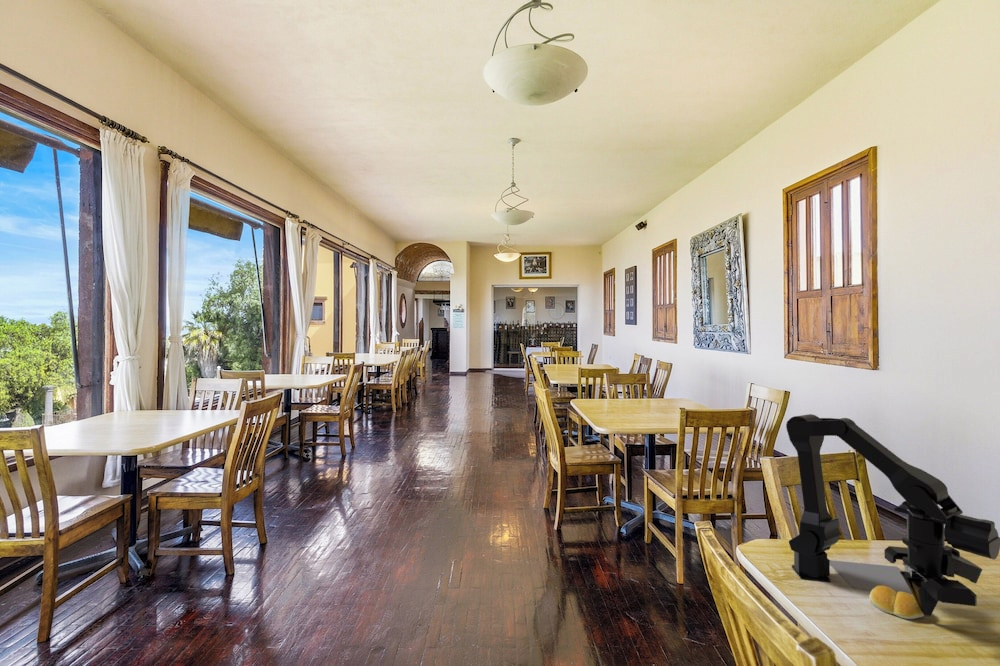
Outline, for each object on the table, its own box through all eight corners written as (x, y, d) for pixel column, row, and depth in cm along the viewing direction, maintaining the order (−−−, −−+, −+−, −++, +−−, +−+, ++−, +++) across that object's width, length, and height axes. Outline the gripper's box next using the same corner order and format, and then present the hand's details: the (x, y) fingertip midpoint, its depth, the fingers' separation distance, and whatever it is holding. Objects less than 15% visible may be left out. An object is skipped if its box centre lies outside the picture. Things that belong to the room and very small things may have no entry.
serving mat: (853, 589, 109) (853, 588, 109) (826, 560, 123) (826, 559, 123) (933, 597, 105) (933, 596, 105) (896, 567, 119) (896, 566, 119)
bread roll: (922, 625, 94) (920, 606, 94) (867, 608, 101) (865, 590, 101) (927, 609, 100) (926, 590, 100) (875, 593, 106) (874, 576, 107)
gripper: (1011, 564, 85) (1012, 650, 85) (941, 524, 103) (942, 595, 103) (938, 558, 87) (939, 641, 87) (882, 520, 106) (883, 589, 105)
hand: (926, 614), depth 96 cm, fingers closed
